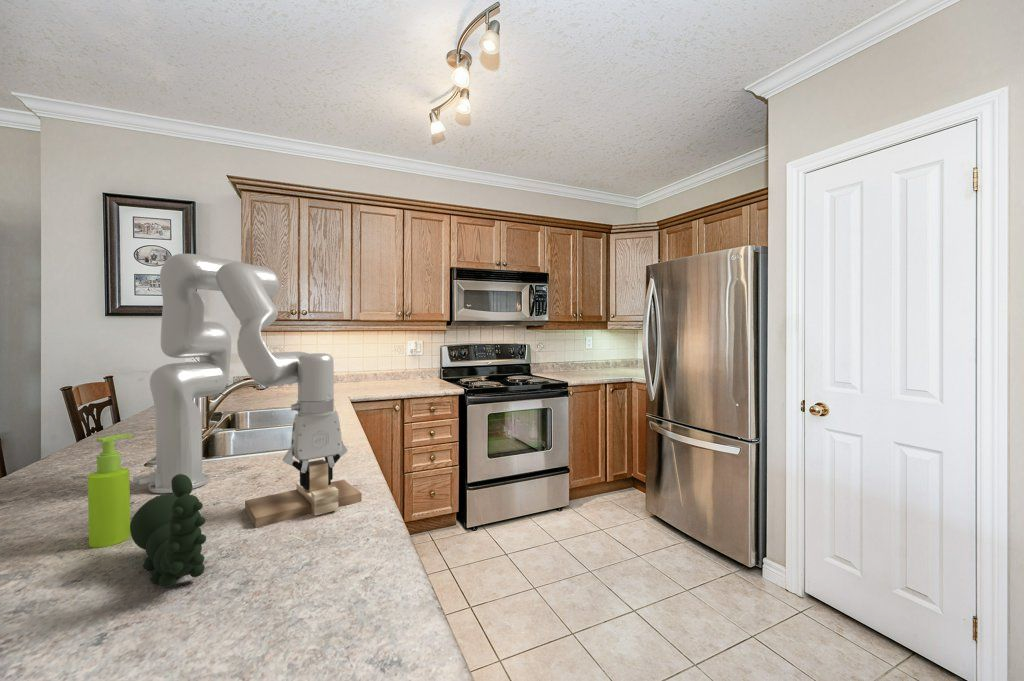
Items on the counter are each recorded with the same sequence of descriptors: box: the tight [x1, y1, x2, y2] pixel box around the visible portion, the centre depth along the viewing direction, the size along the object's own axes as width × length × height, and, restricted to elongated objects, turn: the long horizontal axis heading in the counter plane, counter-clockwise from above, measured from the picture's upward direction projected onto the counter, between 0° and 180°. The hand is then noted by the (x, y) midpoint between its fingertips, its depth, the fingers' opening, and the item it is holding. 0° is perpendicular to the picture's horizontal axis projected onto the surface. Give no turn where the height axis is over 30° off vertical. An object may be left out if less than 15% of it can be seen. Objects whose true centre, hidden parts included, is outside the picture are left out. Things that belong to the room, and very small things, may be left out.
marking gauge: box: [295, 459, 339, 516], centre depth 102 cm, size 5×14×9 cm, turn 40°
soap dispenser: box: [87, 433, 136, 549], centre depth 85 cm, size 6×7×20 cm
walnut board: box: [244, 479, 363, 529], centre depth 102 cm, size 22×12×2 cm, turn 130°
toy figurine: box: [130, 474, 207, 588], centre depth 75 cm, size 9×19×25 cm
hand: (316, 485), depth 102 cm, fingers closed on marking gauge, 4 cm apart
